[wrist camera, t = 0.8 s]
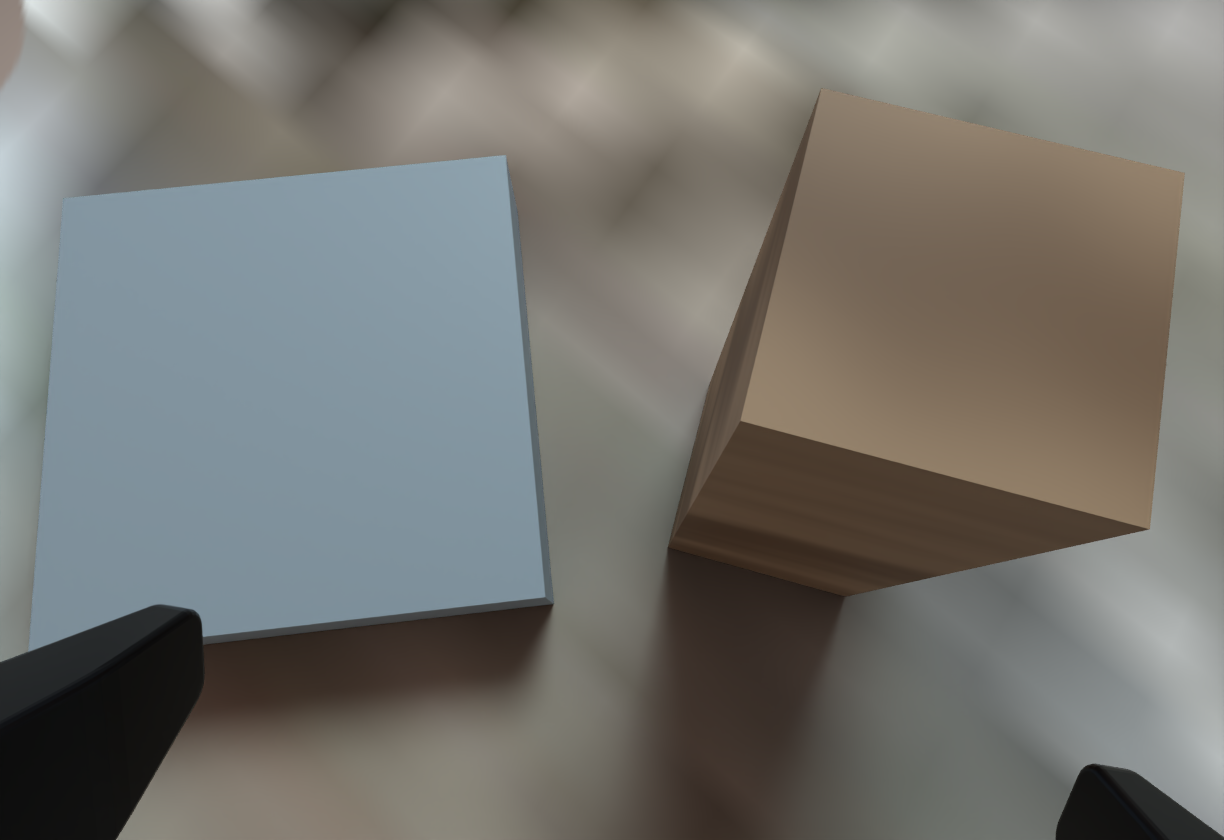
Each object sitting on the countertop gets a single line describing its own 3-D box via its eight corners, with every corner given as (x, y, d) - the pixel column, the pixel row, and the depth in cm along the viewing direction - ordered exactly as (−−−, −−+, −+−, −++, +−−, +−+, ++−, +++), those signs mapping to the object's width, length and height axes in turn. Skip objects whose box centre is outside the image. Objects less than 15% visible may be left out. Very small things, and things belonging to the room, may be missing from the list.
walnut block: (845, 596, 22) (1150, 529, 10) (667, 547, 23) (740, 420, 10) (878, 426, 24) (1183, 172, 11) (710, 382, 24) (821, 88, 11)
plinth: (554, 603, 22) (545, 597, 19) (105, 655, 22) (27, 657, 19) (517, 211, 25) (505, 155, 22) (126, 250, 25) (63, 198, 22)
